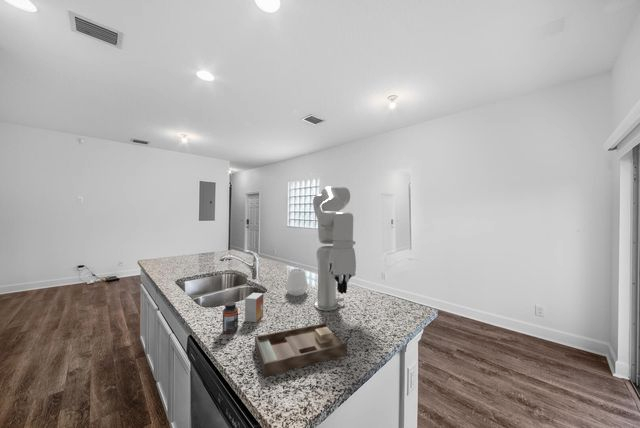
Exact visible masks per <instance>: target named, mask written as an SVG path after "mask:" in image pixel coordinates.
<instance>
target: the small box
mask: <svg viewBox="0 0 640 428" xmlns="http://www.w3.org/2000/svg"><path fill="white" fill-rule="evenodd" d="M263 316H264V293H260V292H252V293H251V294H250V295H248V296H246V297H245V298H244V322H249V323H257V322H258V321H259V320H260V319H261V318H262V317H263Z"/></svg>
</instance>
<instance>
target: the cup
mask: <svg viewBox="0 0 640 428" xmlns="http://www.w3.org/2000/svg"><path fill="white" fill-rule="evenodd" d="M287 275H288V276H287V279H286V283H285V289H286V291H287V293H288V294H289V295H290V296H294V297H298V296H303V295H305V293H306V291H307V289H308V288H309V286H308V281H307V277H306V272H305V269H302V268H291V269H290V270H289V271H288V274H287Z"/></svg>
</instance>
